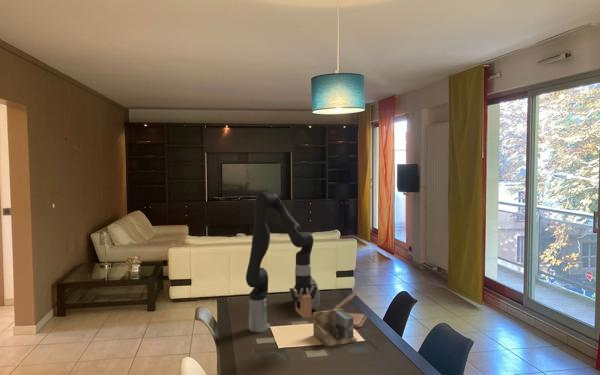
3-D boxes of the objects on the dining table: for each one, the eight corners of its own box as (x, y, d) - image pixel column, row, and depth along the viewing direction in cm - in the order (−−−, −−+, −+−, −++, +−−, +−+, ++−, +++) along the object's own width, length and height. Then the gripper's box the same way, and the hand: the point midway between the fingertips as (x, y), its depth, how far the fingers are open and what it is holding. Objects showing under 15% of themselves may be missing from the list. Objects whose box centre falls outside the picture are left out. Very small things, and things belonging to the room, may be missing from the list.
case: (333, 313, 269) (332, 287, 268) (368, 316, 262) (367, 289, 261) (323, 325, 250) (322, 296, 249) (360, 329, 242) (360, 300, 241)
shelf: (325, 346, 219) (324, 322, 218) (313, 335, 234) (313, 312, 234) (356, 341, 225) (356, 318, 224) (343, 330, 240) (343, 308, 239)
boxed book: (303, 318, 213) (303, 297, 212) (295, 310, 224) (295, 290, 223) (311, 317, 214) (311, 296, 213) (303, 309, 225) (303, 289, 225)
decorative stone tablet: (296, 269, 294) (310, 285, 266) (305, 268, 296) (321, 284, 268) (295, 298, 297) (310, 316, 269) (305, 297, 299) (320, 315, 271)
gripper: (291, 276, 212) (291, 312, 213) (319, 273, 217) (319, 308, 218) (286, 272, 219) (287, 307, 220) (314, 270, 224) (314, 304, 225)
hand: (303, 307), depth 219 cm, fingers closed on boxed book, 4 cm apart
